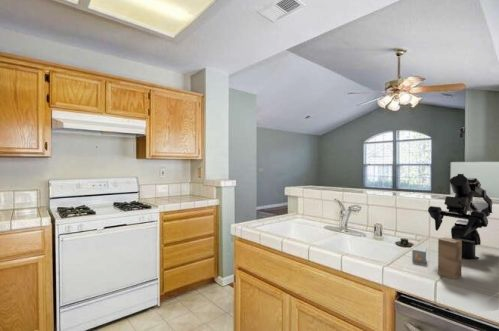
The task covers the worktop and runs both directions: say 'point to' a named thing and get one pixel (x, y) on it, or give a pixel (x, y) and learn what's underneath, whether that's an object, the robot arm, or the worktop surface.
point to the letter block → (419, 254)
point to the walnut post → (449, 257)
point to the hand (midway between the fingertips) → (449, 232)
